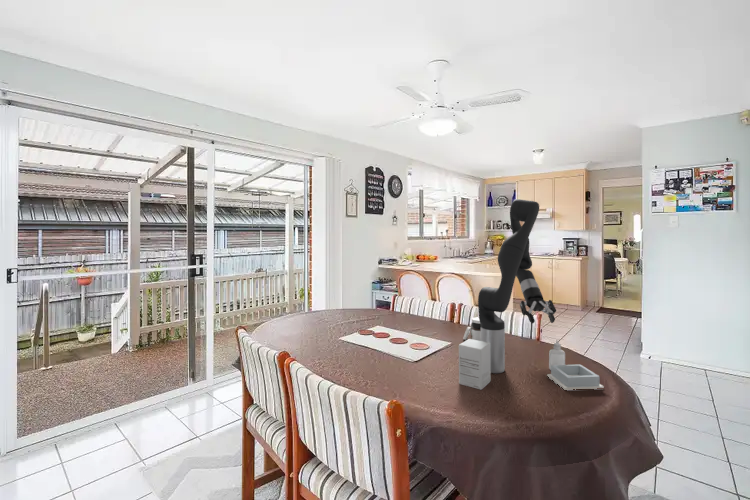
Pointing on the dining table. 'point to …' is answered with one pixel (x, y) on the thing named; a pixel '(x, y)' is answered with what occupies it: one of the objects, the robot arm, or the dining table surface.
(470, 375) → the supplement box
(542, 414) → the dining table surface
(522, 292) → the robot arm
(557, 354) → the eye dropper bottle
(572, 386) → the bottle stand
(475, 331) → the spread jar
